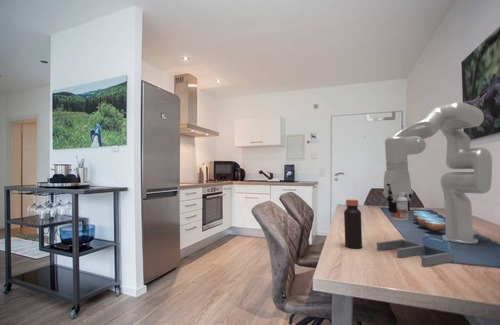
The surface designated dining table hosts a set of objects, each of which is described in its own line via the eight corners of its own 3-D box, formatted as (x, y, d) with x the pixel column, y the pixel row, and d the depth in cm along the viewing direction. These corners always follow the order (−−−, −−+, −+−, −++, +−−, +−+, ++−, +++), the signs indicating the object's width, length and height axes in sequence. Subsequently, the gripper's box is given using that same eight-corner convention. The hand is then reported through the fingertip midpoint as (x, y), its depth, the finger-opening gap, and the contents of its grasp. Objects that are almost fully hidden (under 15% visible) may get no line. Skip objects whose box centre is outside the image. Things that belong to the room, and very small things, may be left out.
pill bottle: (394, 217, 102) (392, 190, 102) (411, 218, 97) (409, 191, 98) (388, 219, 98) (386, 191, 98) (405, 221, 93) (403, 192, 94)
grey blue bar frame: (402, 246, 104) (402, 228, 105) (453, 261, 86) (452, 239, 86) (377, 250, 99) (376, 231, 100) (425, 266, 81) (424, 244, 81)
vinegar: (365, 249, 101) (363, 200, 102) (348, 249, 101) (347, 201, 102) (358, 244, 108) (356, 199, 109) (342, 244, 108) (341, 199, 109)
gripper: (403, 167, 105) (406, 208, 104) (372, 167, 99) (375, 211, 98) (421, 166, 98) (423, 211, 97) (388, 167, 92) (391, 214, 91)
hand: (399, 211), depth 98 cm, fingers closed on pill bottle, 6 cm apart
